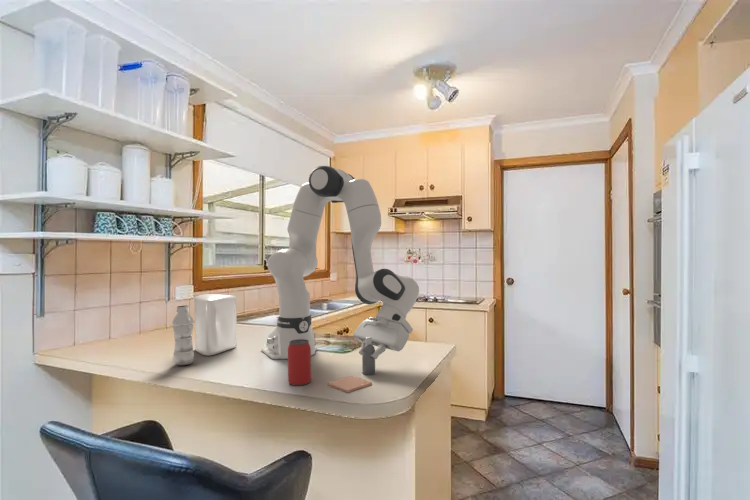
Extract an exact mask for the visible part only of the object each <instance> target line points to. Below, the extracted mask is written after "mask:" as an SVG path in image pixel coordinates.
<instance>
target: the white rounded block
mask: <svg viewBox="0 0 750 500" xmlns="http://www.w3.org/2000/svg"><path fill="white" fill-rule="evenodd" d="M193 303H194V340H195V341H194V344H195V346H194V349H195V350H194V351H196V352H197V353H198V354H201V355H203V356H213V355H217V354H221V353H224V352H226V351H228V350H231V349H234V348H236V347H237V346H238V338H237V335H238V333H237V330H238V329H237V326H238V325H237V296H236V295H230V294H224V293H223V294H222V293H220V294H219V293H204V294H200V295H196V296H195V297H194V302H193Z"/></svg>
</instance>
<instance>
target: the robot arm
mask: <svg viewBox="0 0 750 500" xmlns="http://www.w3.org/2000/svg"><path fill="white" fill-rule="evenodd" d="M329 202H331V203H332V204H335V203H336V204H337V203H343V204H344V206H345V210H346V215H347V218H348V223H349V228H350V237H351V239H350V240H351V249H352V257H353V262H354V263H353V264H354V268H355V270H354V271H355V278H356V279H355V286H354V292H355V295H356V297H357V298H358V300H359V301H360V302H361V303H364V304H365V305H375V304H376V303H378V302H381V303H382V305H381V307H380V309H379V310H378V312H377V314H376V315H375V317H372V316H369V317H368V318H366V319H364V320H363V321H361V322H360V324H359V325H358V326H357V328H356V329H355V331H353V338H354V339H355V340H356V341H357V342H358V343H361V346H360V349H359V351H358V354H359V355H360V356H362V349H363V347H364V346H365V338H368V337H372V345H373V346H374V347H378V348H377V349H375V351H373V352H372V354H371V357H372V358H374V359H375V360H377V359H378V358H379V357H380V355H382V354H383V353H385V351H386V350H391V351H394V352H401V351H403V349H404V347H405V346H406V344H407V343H408V341H409V337H410V334H411V333H412V332H413V330H414V329H413V327H412V325H411V324H410V323H409V321H408V320H407V319H406V318H407V316H408V314H409V313H410V312H411V310H412V309H413V307H414V305H415V303H416V301H417V300H418V297H419V293H420V288H419V287H420V286H419V284H418V282H417V281H416V280H415V279H413V278H412V277H410V276H402V275H399V274H397V273H395V272H393V271H392V270H391V269H388V268H381V269H378V270H376V271H374V265H373V258H372V253H371V250H372V249H371V248H372V243H373V242H374V239H375V238H376V237H377V234H378V233H379V231H380V229H381V227H382V214H381V210H380V206H379V203H378V199H377V196H376V193H375V191H374V189H373V187H372V185H371V183H370V182H369V181H368V179H367V180H366V179H365V178H355V177H354V176H353V175H351V174H350V173H347V172H346V171H344V170H341V169H339V168H334V167H332V166H330V165H319V166H317V167H315V168H314V169H312V170H311V172H310V174H309V177H308V182H305V183H303V184H302V185H301V186H300V187H299V189H298V192H297V194H296V197H295V200H294V202H293V204H292V209H291V213H290V217H289V221H288V225H287V229H286V230H287V233H288V236H289V240H288V241H289V246H288V248H283V249H279V250H277V251H275V252H273V253H272V254H271V255H270V256H269V259H268V260H267V269H268V271H269V274H270V275H271V276H272V277H273V279H274V282H275V285H276V288H277V293H278V304H279V305H278V306H279V308H278V309H279V310H278V311H279V316H276V327H275V328H274V329H273V330H272V331H271V332H270V333H269V334H268V337H267V338H266V343H267V344H266V346H264V347H261V350H260V352H262V353H264V354H265V355H266V356H267V357H269V358H271V360H283V359H286V360H288V346H289V344H290V343H289V342H290V341H292V340H298V339H305V340H308V341H309V342H308V343H309V345H310V348H311V356H313V355H315V354H316V351H317V350H318V347H317V346H316V344H315V343H316V342H315V334H314V329H313V328H312V326H311V325H312V315H311V301H310V300H311V298H310V297H311V296H310V293H309V291H308V288H307V287H306V284H305V279H304V278H305V277H308V276H309V275H311V274H312V273H314V272H315V270H316V269H317V267H318V258H317V254H316V253H317V239H318V234H319V231H320V226H321V222H322V218H323V214H324V211H325V208H326V205H327V204H328V203H329Z"/></svg>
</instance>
